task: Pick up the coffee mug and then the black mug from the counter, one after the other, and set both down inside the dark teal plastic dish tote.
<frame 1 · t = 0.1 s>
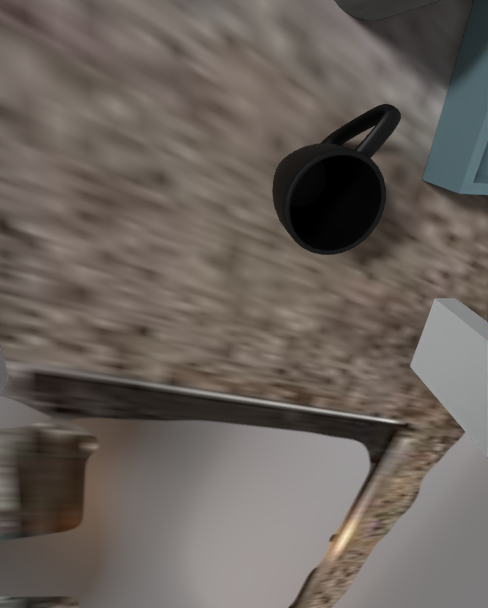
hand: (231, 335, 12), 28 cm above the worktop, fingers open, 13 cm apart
mug: (312, 163, 38), on the worktop
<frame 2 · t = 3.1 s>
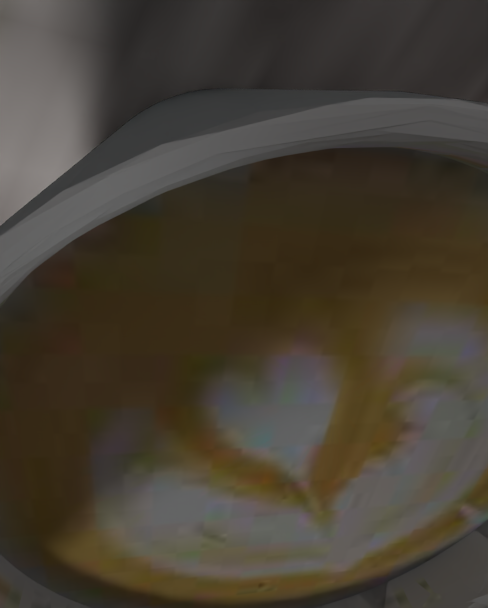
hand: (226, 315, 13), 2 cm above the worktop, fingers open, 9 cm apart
coffee mug: (210, 291, 14), on the worktop, touching gripper
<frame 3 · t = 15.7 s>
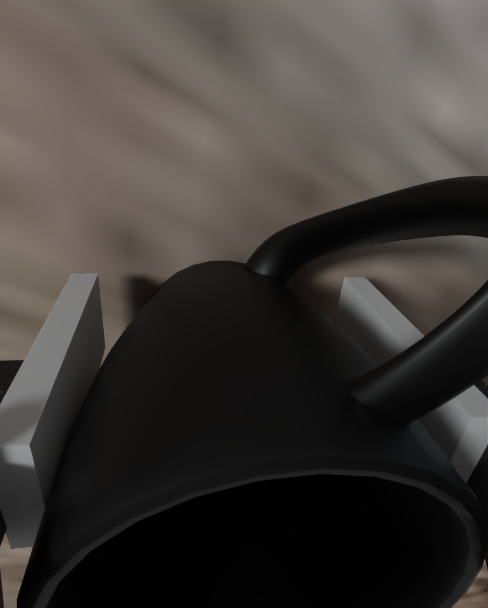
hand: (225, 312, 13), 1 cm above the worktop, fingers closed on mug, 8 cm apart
mug: (244, 285, 14), on the worktop, touching gripper
when the fingers open (4 cm above the worktop, at t = 22.3 s): mug drops 1 cm, resting on tote.
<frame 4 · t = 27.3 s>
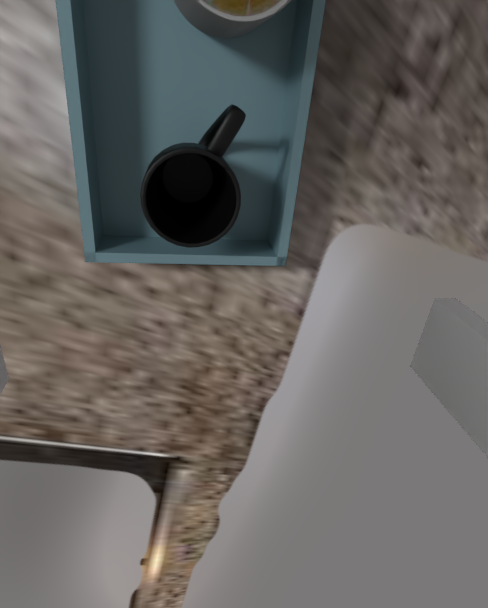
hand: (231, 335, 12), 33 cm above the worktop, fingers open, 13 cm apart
tote: (191, 83, 37), on the worktop
mug: (197, 161, 39), point 1 cm above the worktop, touching tote
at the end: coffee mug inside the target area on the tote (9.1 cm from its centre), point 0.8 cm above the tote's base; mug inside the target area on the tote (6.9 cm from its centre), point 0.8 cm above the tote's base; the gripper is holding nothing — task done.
